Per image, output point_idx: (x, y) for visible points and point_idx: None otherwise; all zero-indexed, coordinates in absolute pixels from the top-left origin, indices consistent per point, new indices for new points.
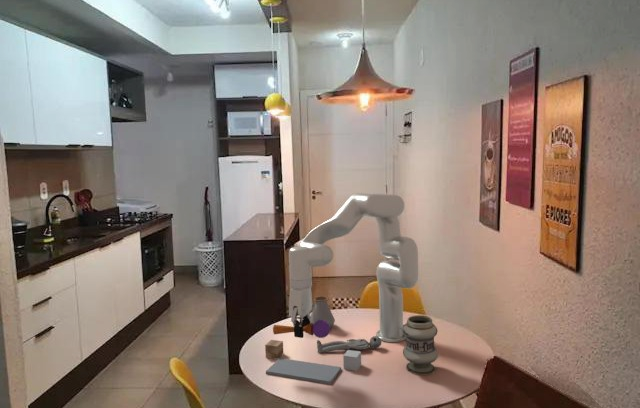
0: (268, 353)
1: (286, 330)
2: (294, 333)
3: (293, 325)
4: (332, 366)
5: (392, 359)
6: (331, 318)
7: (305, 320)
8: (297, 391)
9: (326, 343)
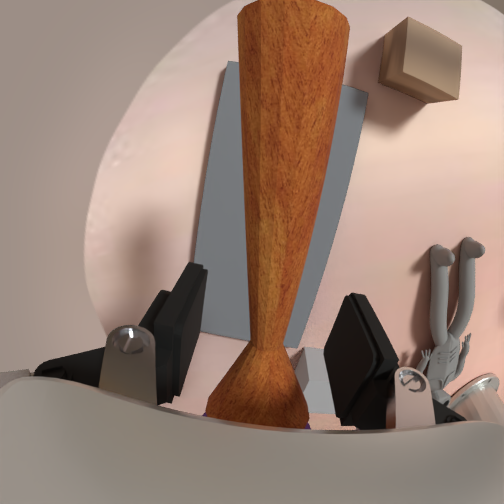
0: (390, 40)
1: (243, 170)
2: (182, 275)
3: (113, 330)
4: (301, 323)
5: (355, 427)
6: None
7: (358, 395)
8: (121, 228)
9: (470, 276)
